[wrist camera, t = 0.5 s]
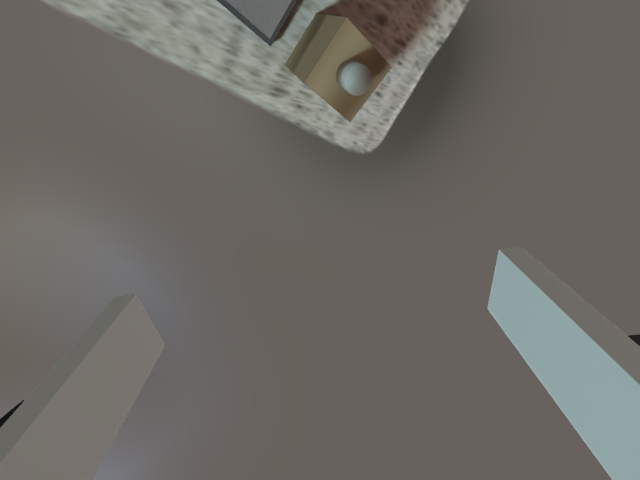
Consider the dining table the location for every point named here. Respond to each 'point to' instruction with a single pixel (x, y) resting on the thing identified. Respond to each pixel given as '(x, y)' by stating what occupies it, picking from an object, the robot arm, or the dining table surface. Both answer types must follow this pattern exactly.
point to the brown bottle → (338, 63)
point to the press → (261, 15)
